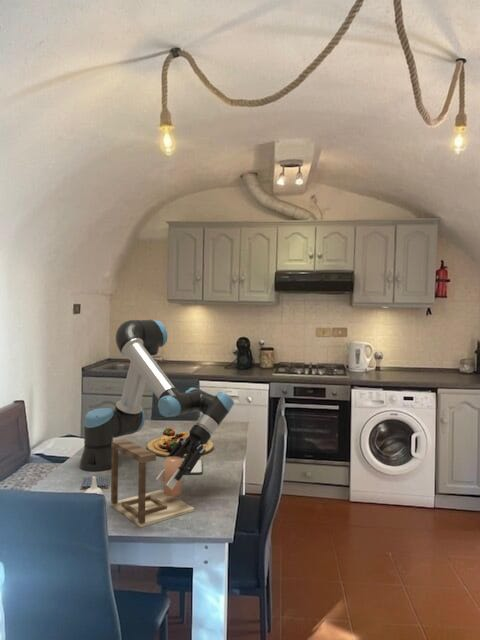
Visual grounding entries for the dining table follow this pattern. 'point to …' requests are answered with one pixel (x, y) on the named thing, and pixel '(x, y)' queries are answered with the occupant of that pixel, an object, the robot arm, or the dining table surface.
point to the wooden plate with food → (172, 443)
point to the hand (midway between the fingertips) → (163, 484)
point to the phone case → (196, 469)
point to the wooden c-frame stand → (142, 490)
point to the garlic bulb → (94, 487)
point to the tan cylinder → (169, 469)
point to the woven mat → (99, 480)
